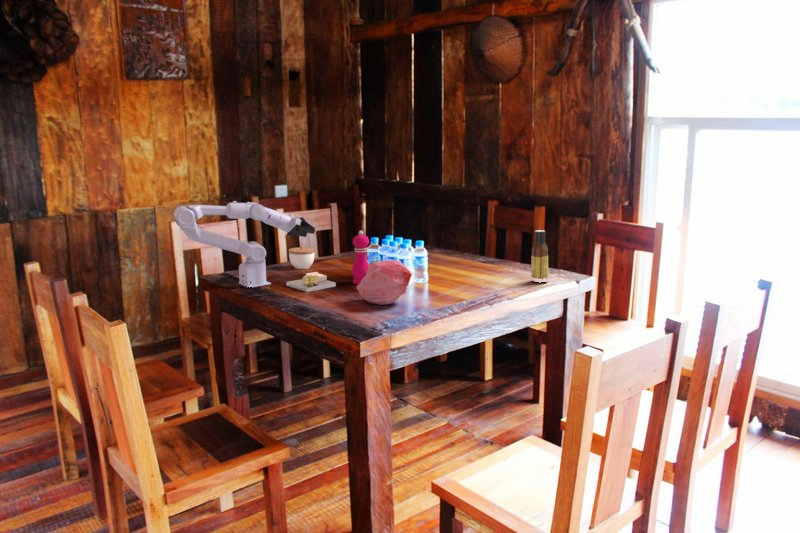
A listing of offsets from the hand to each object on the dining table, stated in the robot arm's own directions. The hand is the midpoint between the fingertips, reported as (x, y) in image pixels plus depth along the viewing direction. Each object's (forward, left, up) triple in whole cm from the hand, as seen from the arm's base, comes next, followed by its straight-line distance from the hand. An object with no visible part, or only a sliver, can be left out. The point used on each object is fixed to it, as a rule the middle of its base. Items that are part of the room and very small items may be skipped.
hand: (310, 232), depth 261 cm
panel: (-7, -9, -18) cm, 21 cm away
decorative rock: (-2, -45, -18) cm, 49 cm away
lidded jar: (+10, +21, -18) cm, 29 cm away
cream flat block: (-4, -8, -17) cm, 19 cm away
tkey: (-9, -13, -18) cm, 24 cm away
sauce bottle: (+63, -61, -18) cm, 89 cm away
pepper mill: (+11, -17, -18) cm, 27 cm away
